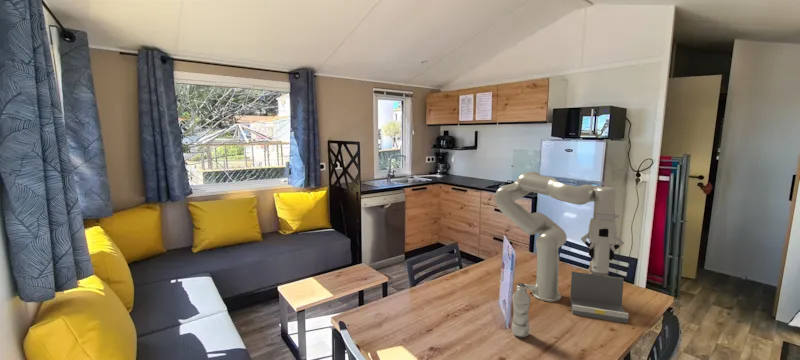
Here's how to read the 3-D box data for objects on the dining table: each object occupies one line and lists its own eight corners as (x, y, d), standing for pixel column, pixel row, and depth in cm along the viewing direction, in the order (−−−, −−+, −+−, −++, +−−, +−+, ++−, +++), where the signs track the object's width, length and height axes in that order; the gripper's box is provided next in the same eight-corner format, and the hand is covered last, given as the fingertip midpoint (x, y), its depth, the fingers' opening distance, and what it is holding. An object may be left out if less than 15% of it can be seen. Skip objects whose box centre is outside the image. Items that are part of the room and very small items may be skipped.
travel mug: (594, 275, 144) (597, 229, 141) (589, 269, 150) (592, 224, 148) (611, 276, 143) (614, 229, 140) (605, 270, 149) (608, 225, 146)
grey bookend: (572, 314, 147) (574, 283, 145) (570, 300, 159) (571, 271, 157) (627, 323, 139) (630, 290, 137) (620, 308, 151) (623, 277, 150)
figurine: (582, 280, 180) (584, 258, 179) (592, 278, 183) (593, 256, 181) (595, 286, 174) (597, 263, 172) (604, 283, 177) (606, 260, 175)
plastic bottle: (520, 341, 128) (522, 290, 125) (507, 332, 134) (508, 283, 131) (533, 336, 131) (535, 286, 128) (519, 328, 137) (521, 280, 134)
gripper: (625, 216, 144) (622, 257, 146) (579, 213, 150) (577, 253, 152) (630, 220, 137) (626, 264, 139) (581, 217, 143) (578, 258, 145)
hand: (600, 257), depth 146 cm, fingers closed on travel mug, 6 cm apart
